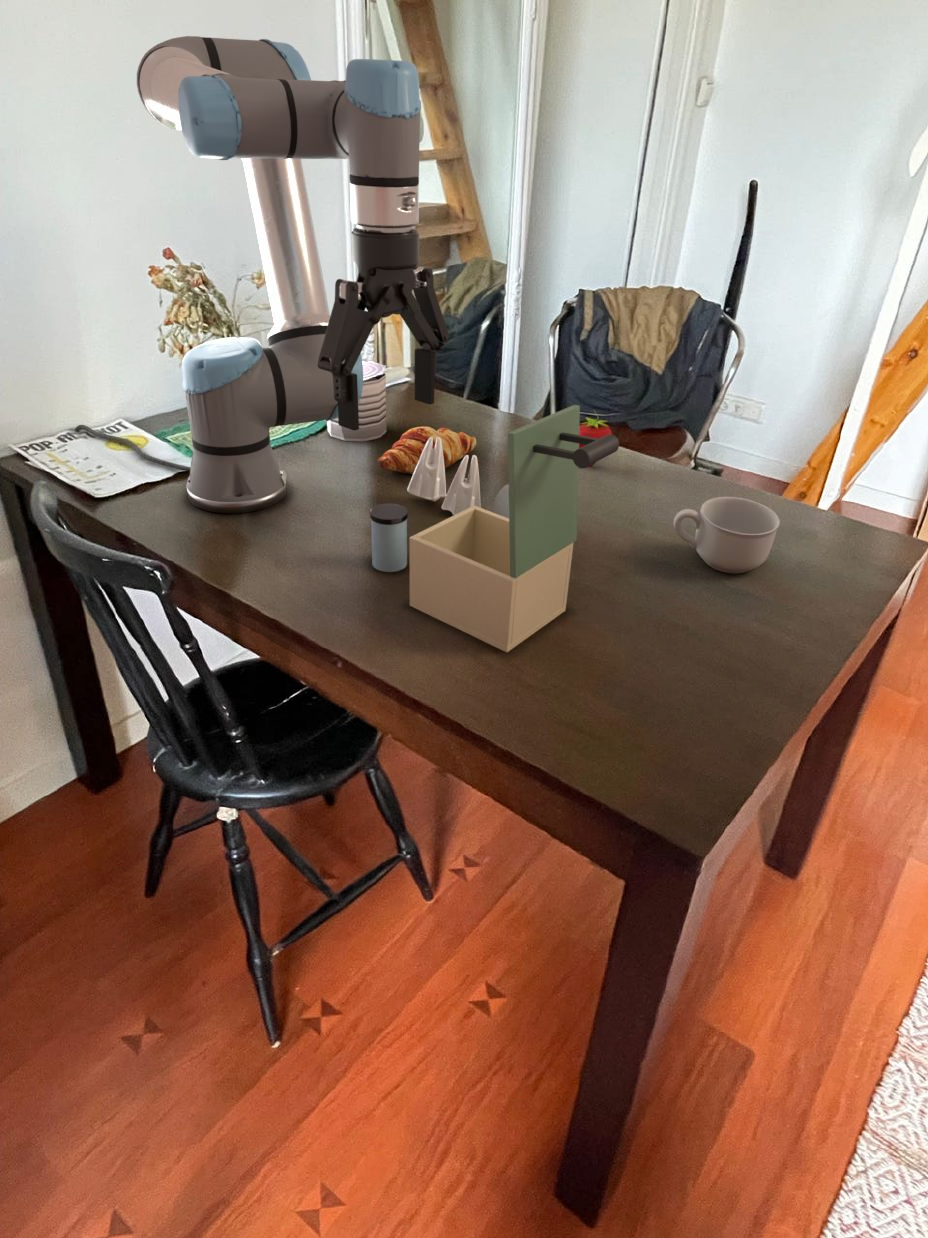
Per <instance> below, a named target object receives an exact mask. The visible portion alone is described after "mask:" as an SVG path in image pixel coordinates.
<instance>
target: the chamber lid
mask: <svg viewBox="0 0 928 1238" xmlns="http://www.w3.org/2000/svg"><path fill="white" fill-rule="evenodd" d="M580 417H581V406H580V405H579V404H577V405H576V404H573V405H570V406H567V407H566V408H563V409H561V410H559V411H556V412H554V413H551V414H549V415H547V416H545V417H542V418H540V419H537V420H535V421H533V422H530V423H528V424H526V425H523V426H520V427H518V428H515V429H513V430H511V431H509V432H507V476H508V477H507V478H508V483H507V484H508V486H509V539H510V577H513V578H517V577H519V576H520V575H522V574H523V573H525V572H527V571H528V570H530V569H531V568H533V567H535V566H536V565H538V564H539V563H541V562H543V561H544V560H546V559H547V558H549V557H551V556H552V555H554V554H555V553H557V552H559V551H560V550H562V549H563V548H565V547H567V546H568V545H570V544H571V543H575V542H576V541H578V540H577V539H578V509H579V508H578V503H579V502H578V500H579V469H586V468H587V467H589V465H591V464H593V463H595V462H596V463H597V462H599V461H601V460H603V459H605V458H607V457H608V456H610V455H612V454H614V453H616V452H617V451H618V449H619V448H620V440H619V439H618V437H617V436H616V435H614V434H608V435H606V436H604V437H602V438H600V439H598V438H592V437H586V436H581V435H579V427H580V426H581V424H580V423H581V421H580V420H581V419H580ZM579 444H585V446H583V447H581V448H579ZM596 463H595V464H596Z"/></svg>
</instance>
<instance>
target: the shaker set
mask: <svg viewBox="0 0 928 1238" xmlns="http://www.w3.org/2000/svg"><path fill="white" fill-rule="evenodd" d="M432 446H433V438H432V437H430V438H429V439H428V441H427V443H426V445H425V447H424V449H423V452H422V454H421V457H420V459H419V461H418V464H417V466H416V469H415V471H414V473H412V476H411V479H410V481H409V484H408V486H407V493H409V494H410V495H413V496H415V497H419V498H421V499H425V500H428V501H431V502H434V503H435V502H436V501H438V500H440V499H443V498H444V500H443V502H442V504H441V509H442V511H449V512H450V513H451V514H452V516H454V515H456V514H458V513H460V512H462V511H464V510H466V509H468V508H470V507H472V506H477V507H480V508H482V507H481V505H482V503H481V487H480V486H481V485H480V472H479V463H478V462H479V461H478V457H477V455H475V454H473V455H472V456H471V461H470V464H469V469H468V474H467V467H468V462H469V454H465V455H464V457H462V458H463V459H462V460H461V462H460V464H459V467H458V468H457V471H456V472H455V475H454V477H453V478H452V482H451V484H450V486H449V489H448V490H447V483H446V468H445V467H444V457H443V449H442V442H441V438H440V437H437V438H436V443H435V447H434V449H433V448H432ZM466 474H467V478H466Z"/></svg>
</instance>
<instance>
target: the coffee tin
mask: <svg viewBox="0 0 928 1238" xmlns="http://www.w3.org/2000/svg"><path fill="white" fill-rule="evenodd" d="M408 513H409V511H408V508H406V507H405V506H403V505H402V504H399V503H392V502H391V503H390V502H389V503H379V504H376V505H374V506H373V507H372V508H370V511H369V518H370V530H371V531H370V532H371V562H372V563H371V564H372V567H373V568H374V569H376V570H377V571H380V572H385V573H394V572H399V571H401V570H404V569H405V568H406V567H407V565H408V518H409V517H408V516H409V515H408Z"/></svg>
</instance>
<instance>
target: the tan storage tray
mask: <svg viewBox="0 0 928 1238" xmlns="http://www.w3.org/2000/svg"><path fill="white" fill-rule="evenodd" d="M574 543H575V542H573V543H571V544H570V545H568V546H567V547H565V548H563V549H562V550H560V551H559V552H557V553H555V554H554V555H552V556H551V557H549V558H547V559H546V560H544V561H543V562H541V563H539V564H538V565H536V566H535V567H533V568H531V569H530V570H528V571H527V572H525V573H523V574H522V575H520V576H519V577H517V578H513V577H510V539H509V518H506V517H503V516H501V515H498V514H495V513H494V512H493V511H491V510H487V509H486V508H485V509H484V508H482V507H481V508H480V507H477V506H472V507H470V508H468V509H466V510H464V511H462V512H460V513H458V514H456V515H452V516H450V517H448V518H445V519H444V520H442V521H440V522H438V523H436V524H434V525H431V526H430V527H427V528H426V529H423V530H422V531H420V532H417V533H416V534H414V535H411V536H410V537H409V606H410V607H412V608H413V609H416V610H418V611H420V612H422V613H424V614H426V615H427V616H430V617H432V618H434V619H436V620H439V621H440V622H442V623H445V624H446V625H449V626H451V627H452V628H455V629H457V630H458V631H461V632H463V633H466V634H467V635H470V636H471V637H473V638H476V639H478V640H480V641H482V642H483V643H486V644H488V645H490V646H492V647H495V649H499V650H500V651H502V652H505V653H508V652H510V651H511V650H513V649H514V648H516V647H518V645H519V644H521V643H523V642H524V641H525V640H527V639H528V638H529V637H531V636H532V635H534V634H535V633H536V632H538V631H539V630H540V629H541V630H542V629H543V627H545V626H547V625H548V624H549V623H550V622H552V621H553V620H554V619H556V618H557V617H559V616H560V615H561V614H563V613H564V612H566V609H567V600H568V594H569V585H570V584H569V583H570V577H571V567H572V561H573V560H572V559H573V551H574Z"/></svg>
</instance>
